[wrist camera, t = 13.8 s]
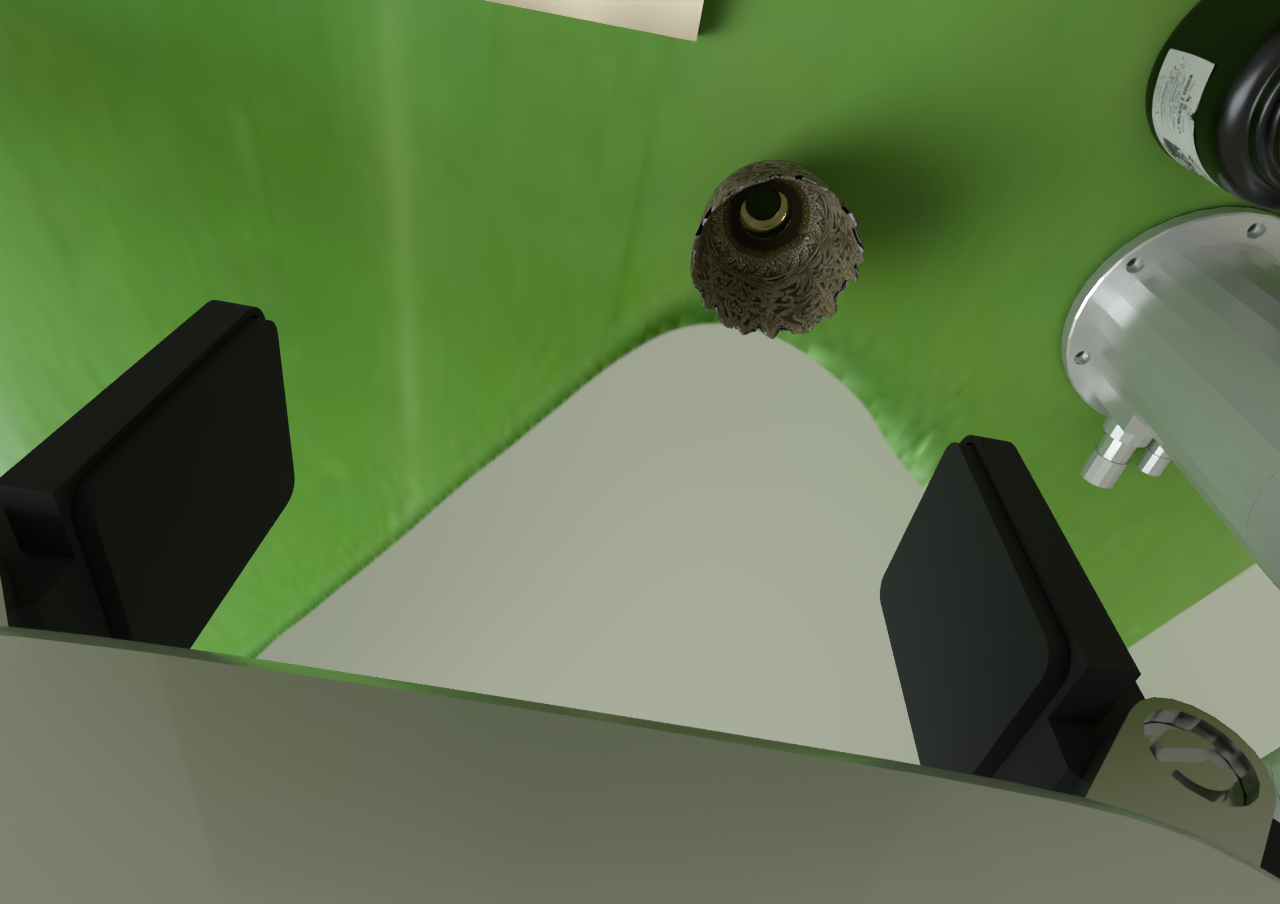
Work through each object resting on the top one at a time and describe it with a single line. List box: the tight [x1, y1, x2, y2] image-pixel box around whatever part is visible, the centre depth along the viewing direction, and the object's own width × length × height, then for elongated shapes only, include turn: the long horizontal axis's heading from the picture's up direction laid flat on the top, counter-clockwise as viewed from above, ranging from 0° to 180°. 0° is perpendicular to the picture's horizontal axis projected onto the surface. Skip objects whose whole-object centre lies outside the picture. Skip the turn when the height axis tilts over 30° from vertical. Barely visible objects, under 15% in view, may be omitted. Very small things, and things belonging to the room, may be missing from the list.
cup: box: [690, 160, 864, 339], centre depth 38 cm, size 8×7×8 cm
